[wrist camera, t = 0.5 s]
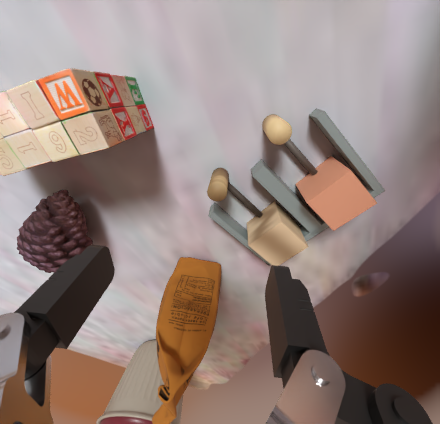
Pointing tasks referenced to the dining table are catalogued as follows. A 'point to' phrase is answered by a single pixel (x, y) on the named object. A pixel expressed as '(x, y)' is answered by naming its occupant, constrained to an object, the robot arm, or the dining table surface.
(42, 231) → the pine cone
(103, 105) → the stack of blocks
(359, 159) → the shelf rack
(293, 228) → the birch block
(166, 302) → the coffee package
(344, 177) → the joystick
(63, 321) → the robot arm
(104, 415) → the canister
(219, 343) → the dining table surface
